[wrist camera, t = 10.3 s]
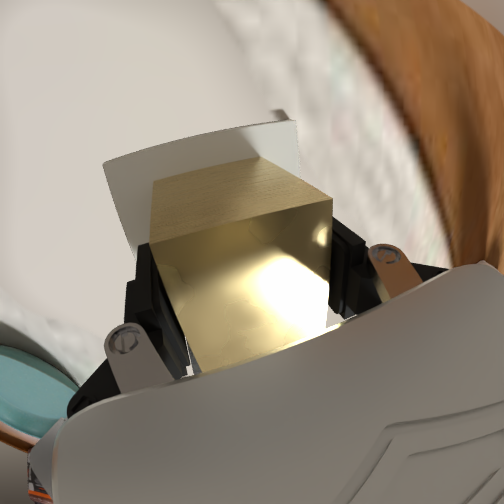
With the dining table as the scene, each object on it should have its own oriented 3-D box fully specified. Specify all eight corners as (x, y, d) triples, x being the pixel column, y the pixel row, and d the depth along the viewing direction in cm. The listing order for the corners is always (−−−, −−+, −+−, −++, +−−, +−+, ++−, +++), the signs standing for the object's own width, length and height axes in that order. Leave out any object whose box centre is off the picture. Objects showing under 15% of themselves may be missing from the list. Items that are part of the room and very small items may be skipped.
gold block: (153, 180, 11) (149, 244, 6) (260, 156, 12) (332, 198, 7) (184, 286, 14) (205, 378, 10) (271, 262, 15) (324, 338, 11)
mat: (105, 161, 11) (102, 164, 10) (290, 119, 12) (295, 120, 12) (160, 309, 15) (160, 316, 15) (300, 267, 17) (304, 272, 17)
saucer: (136, 399, 20) (138, 425, 17) (56, 431, 20) (56, 450, 17) (-6, 293, 11) (-21, 320, 9) (-47, 360, 11) (-54, 380, 9)
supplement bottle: (20, 443, 19) (21, 509, 10) (51, 449, 21) (56, 518, 12) (40, 458, 22) (43, 516, 13) (69, 462, 24) (76, 523, 15)
